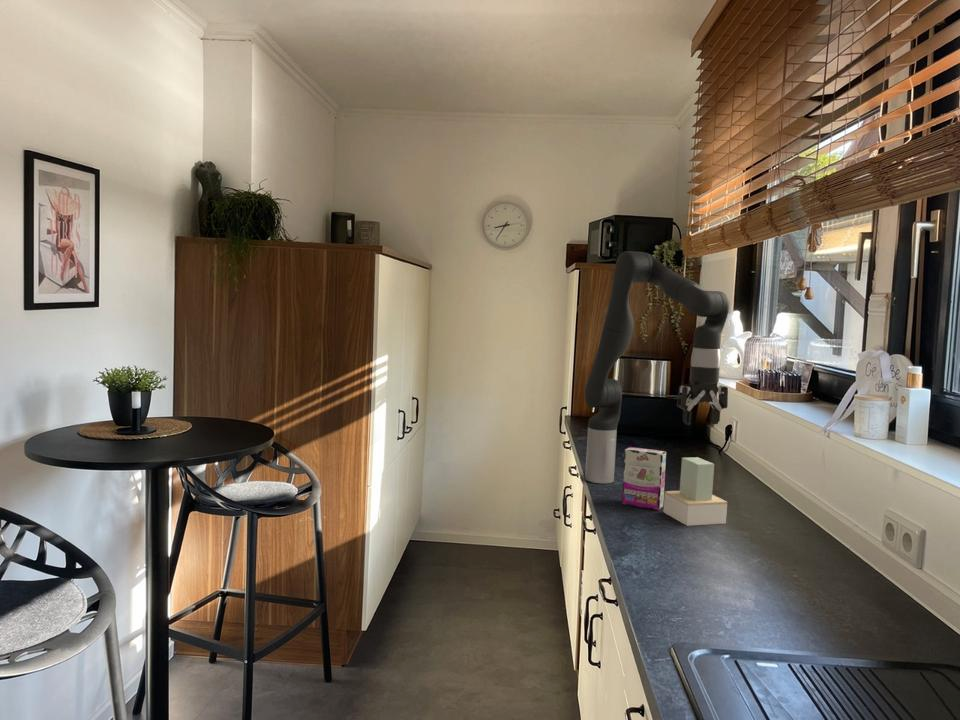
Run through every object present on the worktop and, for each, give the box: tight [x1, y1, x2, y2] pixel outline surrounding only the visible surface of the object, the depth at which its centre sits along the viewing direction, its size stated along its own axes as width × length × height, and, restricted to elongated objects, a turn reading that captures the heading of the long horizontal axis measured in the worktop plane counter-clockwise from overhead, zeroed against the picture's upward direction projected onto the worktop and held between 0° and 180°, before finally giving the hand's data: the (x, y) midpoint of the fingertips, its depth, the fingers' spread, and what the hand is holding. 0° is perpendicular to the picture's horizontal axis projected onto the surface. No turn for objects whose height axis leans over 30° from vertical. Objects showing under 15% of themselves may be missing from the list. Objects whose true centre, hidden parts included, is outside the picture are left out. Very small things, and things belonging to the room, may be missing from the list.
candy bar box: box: [621, 446, 667, 511], centre depth 212 cm, size 11×5×16 cm, turn 62°
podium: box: [663, 490, 728, 527], centre depth 203 cm, size 12×12×6 cm
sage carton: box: [679, 456, 715, 501], centre depth 202 cm, size 8×5×10 cm, turn 16°
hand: (700, 424), depth 200 cm, fingers open, 8 cm apart
